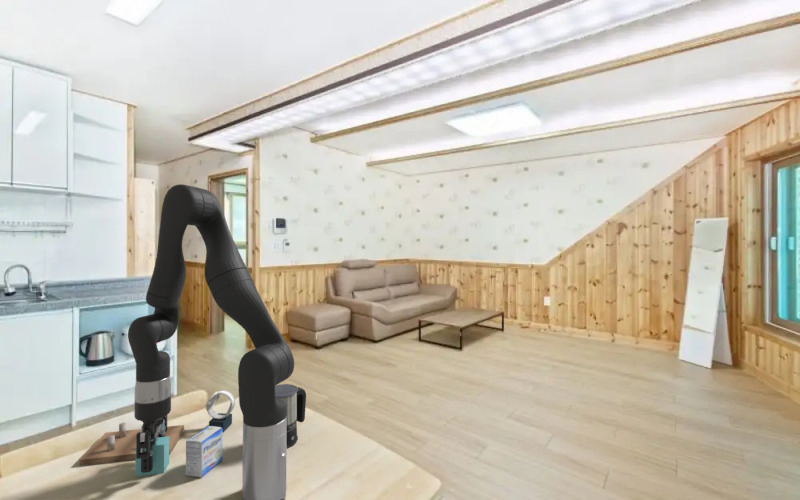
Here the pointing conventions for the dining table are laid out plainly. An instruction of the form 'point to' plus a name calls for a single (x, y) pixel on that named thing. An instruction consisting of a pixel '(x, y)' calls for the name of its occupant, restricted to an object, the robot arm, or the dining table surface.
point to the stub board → (122, 445)
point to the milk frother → (292, 408)
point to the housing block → (157, 458)
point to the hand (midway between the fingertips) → (152, 461)
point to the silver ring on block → (221, 418)
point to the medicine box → (204, 451)
